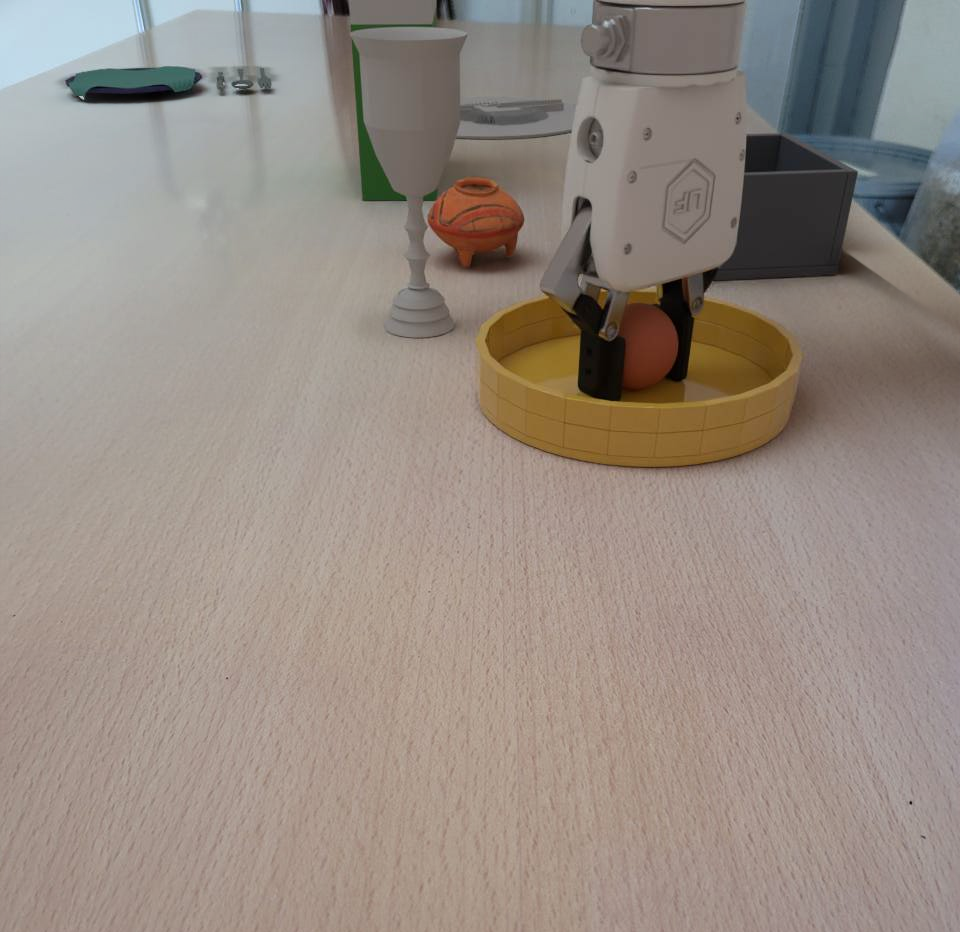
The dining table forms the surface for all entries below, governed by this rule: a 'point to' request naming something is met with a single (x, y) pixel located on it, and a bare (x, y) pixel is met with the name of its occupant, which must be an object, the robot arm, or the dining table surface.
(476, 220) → the pot
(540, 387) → the bowl
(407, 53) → the chalice
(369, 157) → the white green box
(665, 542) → the dining table surface
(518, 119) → the plate
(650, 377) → the toy ball
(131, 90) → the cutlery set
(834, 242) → the bin
